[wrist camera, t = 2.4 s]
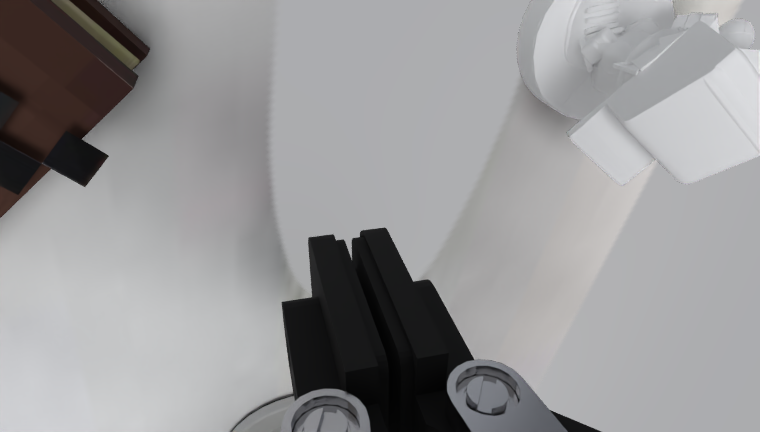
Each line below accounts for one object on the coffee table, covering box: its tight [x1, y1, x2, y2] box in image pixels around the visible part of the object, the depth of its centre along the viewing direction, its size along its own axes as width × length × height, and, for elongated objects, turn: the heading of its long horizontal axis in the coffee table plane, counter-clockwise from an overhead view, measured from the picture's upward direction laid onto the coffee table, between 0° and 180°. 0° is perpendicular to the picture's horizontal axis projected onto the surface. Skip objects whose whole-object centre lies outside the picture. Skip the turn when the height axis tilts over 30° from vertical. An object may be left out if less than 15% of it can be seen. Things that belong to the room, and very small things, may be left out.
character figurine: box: [517, 0, 760, 186], centre depth 27 cm, size 9×10×12 cm
